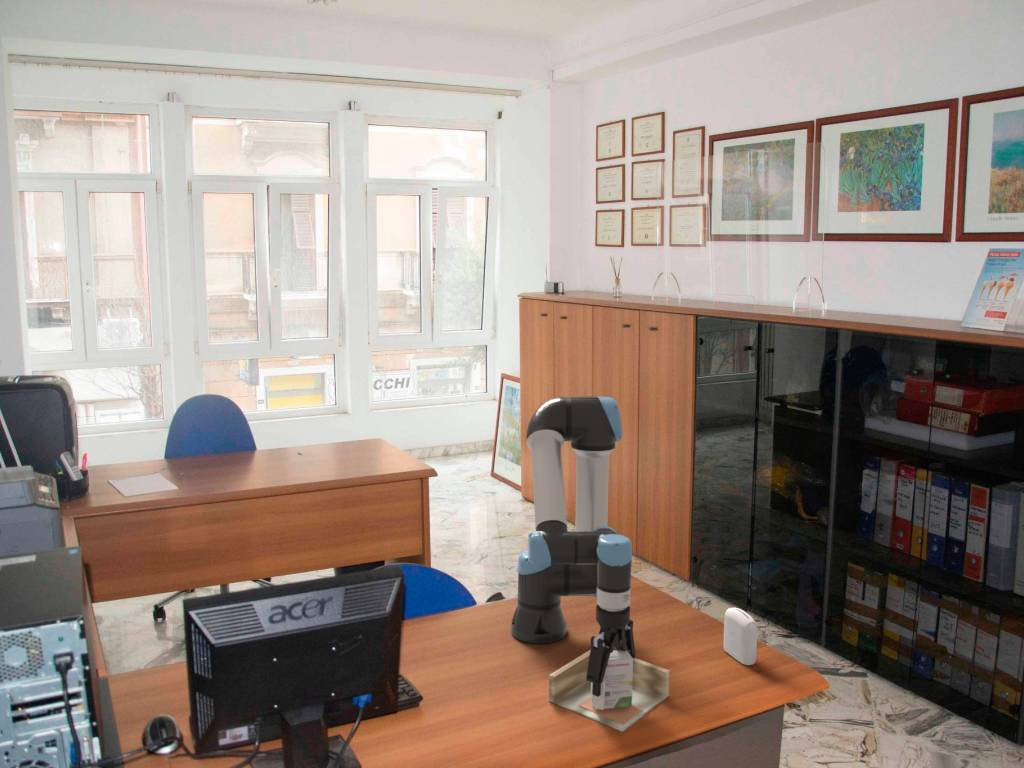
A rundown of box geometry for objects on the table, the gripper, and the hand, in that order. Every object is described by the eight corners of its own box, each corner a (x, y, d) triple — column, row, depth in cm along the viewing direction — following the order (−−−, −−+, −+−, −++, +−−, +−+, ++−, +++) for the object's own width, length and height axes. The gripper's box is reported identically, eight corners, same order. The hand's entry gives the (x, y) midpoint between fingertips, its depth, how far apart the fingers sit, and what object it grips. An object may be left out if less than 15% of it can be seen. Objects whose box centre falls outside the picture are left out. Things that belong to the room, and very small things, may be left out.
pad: (578, 706, 199) (578, 705, 199) (598, 692, 205) (598, 691, 205) (623, 724, 191) (623, 723, 191) (642, 710, 197) (642, 709, 197)
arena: (548, 700, 202) (549, 675, 200) (597, 669, 217) (598, 644, 216) (622, 732, 189) (623, 704, 188) (668, 695, 204) (669, 670, 203)
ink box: (625, 696, 201) (627, 648, 199) (632, 707, 196) (633, 658, 194) (589, 699, 199) (590, 650, 197) (595, 710, 195) (596, 661, 193)
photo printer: (720, 649, 228) (722, 604, 226) (734, 646, 229) (736, 602, 227) (743, 667, 218) (746, 620, 216) (758, 664, 220) (760, 618, 218)
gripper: (599, 626, 183) (597, 724, 187) (653, 594, 200) (650, 685, 203) (570, 616, 188) (568, 712, 192) (625, 585, 205) (622, 675, 208)
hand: (610, 698), depth 198 cm, fingers closed on ink box, 9 cm apart
